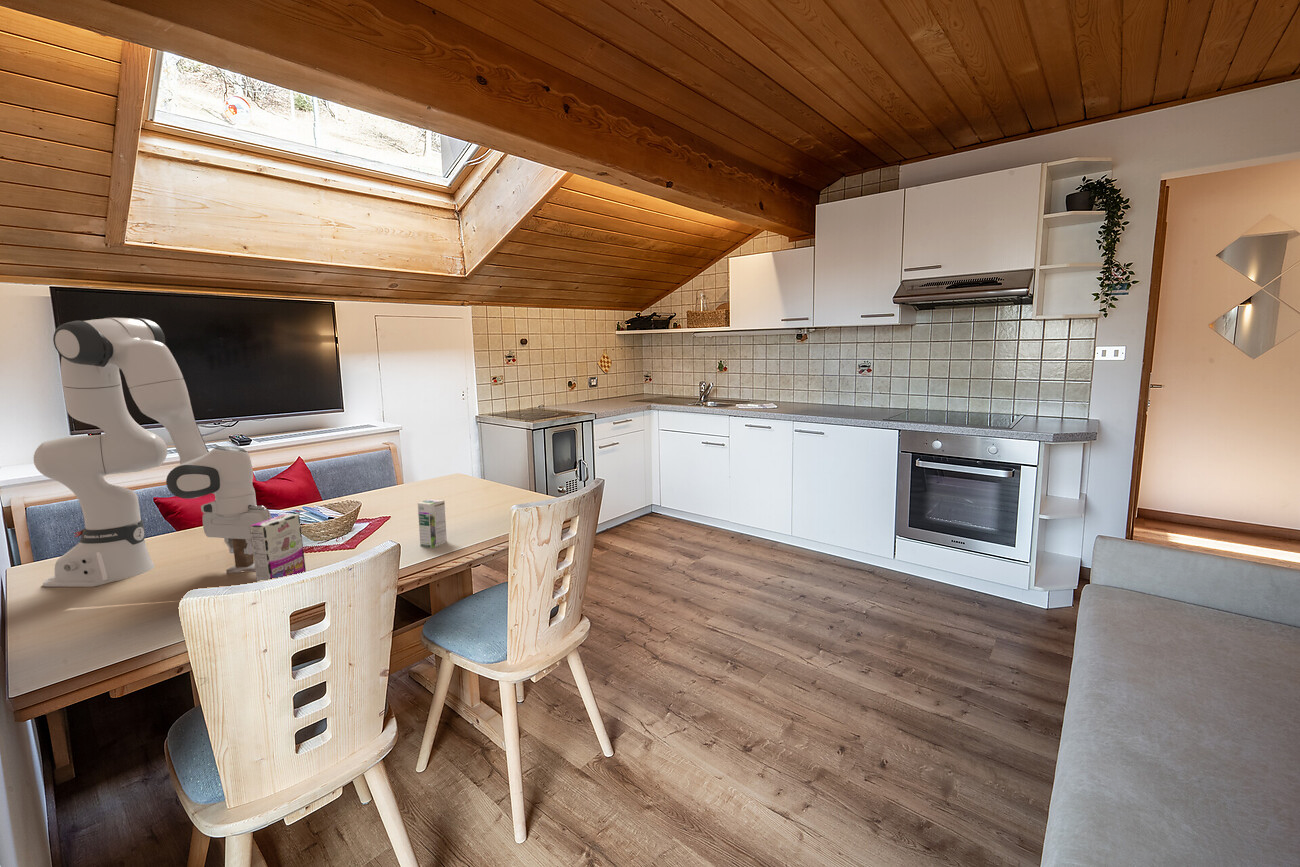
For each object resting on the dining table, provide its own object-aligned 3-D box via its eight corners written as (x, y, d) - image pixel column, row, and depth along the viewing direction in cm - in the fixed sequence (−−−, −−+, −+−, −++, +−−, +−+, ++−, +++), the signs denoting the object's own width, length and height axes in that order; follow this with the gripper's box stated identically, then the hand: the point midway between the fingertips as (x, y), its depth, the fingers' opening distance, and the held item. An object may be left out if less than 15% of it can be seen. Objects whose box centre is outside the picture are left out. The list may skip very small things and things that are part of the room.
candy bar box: (291, 571, 154) (285, 513, 152) (306, 572, 153) (300, 513, 151) (255, 587, 143) (248, 524, 141) (271, 588, 142) (264, 525, 140)
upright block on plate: (226, 573, 153) (222, 538, 152) (240, 565, 159) (236, 531, 158) (278, 571, 154) (274, 535, 153) (290, 563, 160) (287, 529, 159)
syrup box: (419, 549, 170) (416, 502, 169) (433, 543, 176) (430, 498, 174) (434, 551, 168) (431, 504, 167) (448, 545, 174) (445, 499, 172)
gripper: (278, 503, 154) (283, 551, 156) (217, 500, 159) (223, 547, 160) (257, 509, 148) (263, 559, 150) (195, 506, 152) (201, 555, 154)
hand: (242, 553), depth 155 cm, fingers closed on upright block on plate, 4 cm apart
